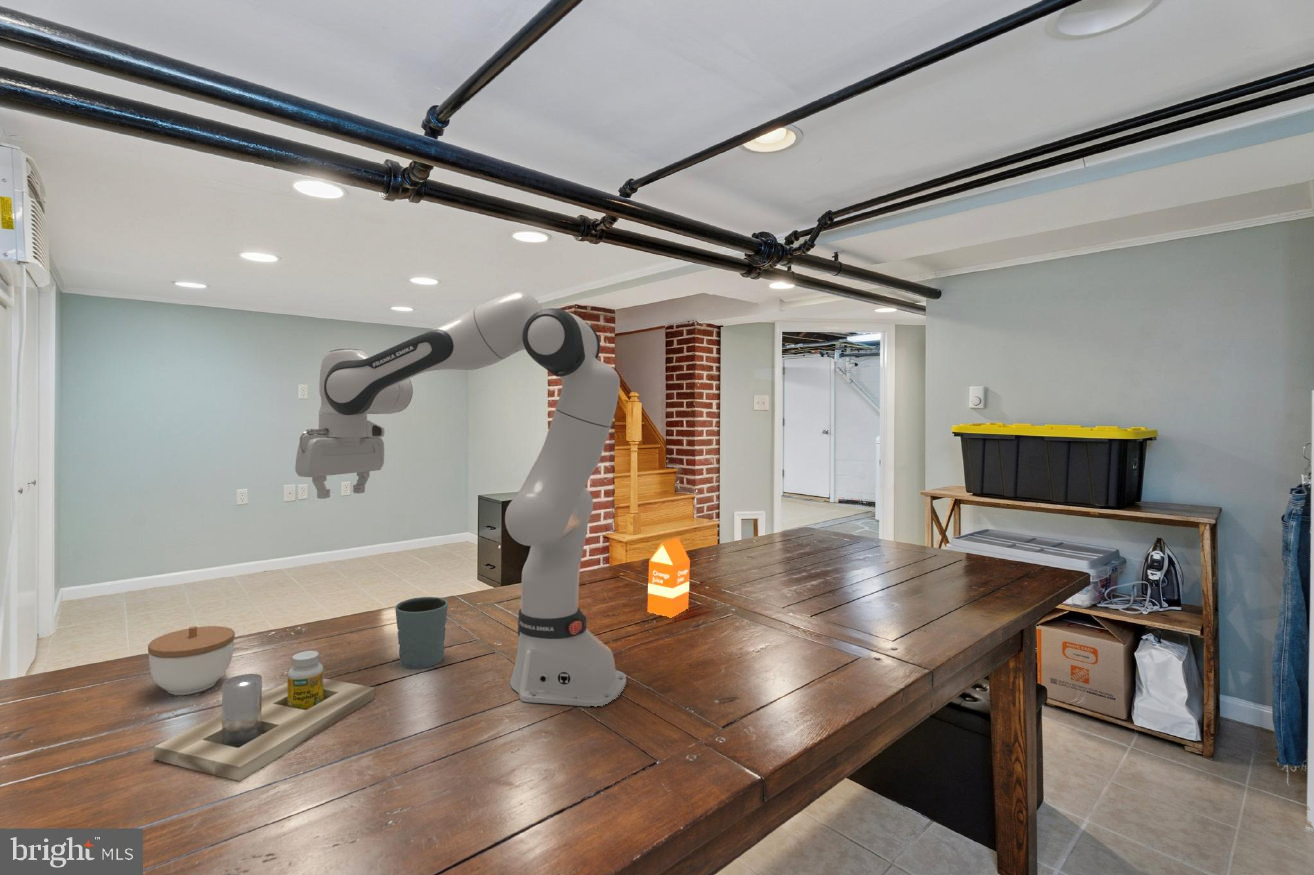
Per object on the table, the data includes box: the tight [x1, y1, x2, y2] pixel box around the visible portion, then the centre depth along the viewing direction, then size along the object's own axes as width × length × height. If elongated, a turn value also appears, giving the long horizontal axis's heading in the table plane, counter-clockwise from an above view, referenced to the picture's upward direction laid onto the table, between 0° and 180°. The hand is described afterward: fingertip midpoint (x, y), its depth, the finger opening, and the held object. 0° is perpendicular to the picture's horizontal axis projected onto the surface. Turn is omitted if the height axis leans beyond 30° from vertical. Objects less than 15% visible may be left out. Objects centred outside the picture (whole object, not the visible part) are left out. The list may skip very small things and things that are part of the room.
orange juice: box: [647, 537, 691, 618], centre depth 161 cm, size 8×9×20 cm
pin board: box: [153, 677, 375, 782], centre depth 98 cm, size 16×26×2 cm, turn 165°
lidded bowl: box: [147, 625, 236, 696], centre depth 111 cm, size 13×13×11 cm
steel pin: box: [221, 673, 263, 748], centre depth 92 cm, size 5×5×10 cm
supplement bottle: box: [287, 650, 324, 710], centre depth 104 cm, size 5×5×10 cm
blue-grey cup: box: [394, 596, 449, 670], centre depth 126 cm, size 10×10×12 cm
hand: (341, 495), depth 124 cm, fingers open, 8 cm apart
